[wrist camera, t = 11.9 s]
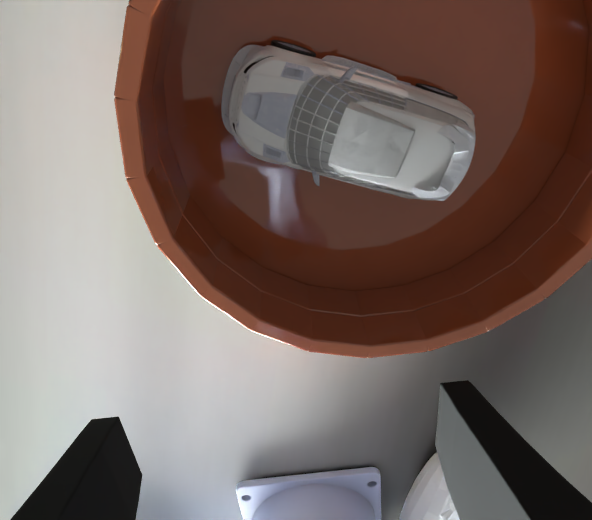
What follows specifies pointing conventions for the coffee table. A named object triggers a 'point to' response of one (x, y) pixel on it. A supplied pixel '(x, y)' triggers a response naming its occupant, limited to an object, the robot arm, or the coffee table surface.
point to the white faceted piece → (429, 495)
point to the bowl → (356, 199)
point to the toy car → (347, 121)
